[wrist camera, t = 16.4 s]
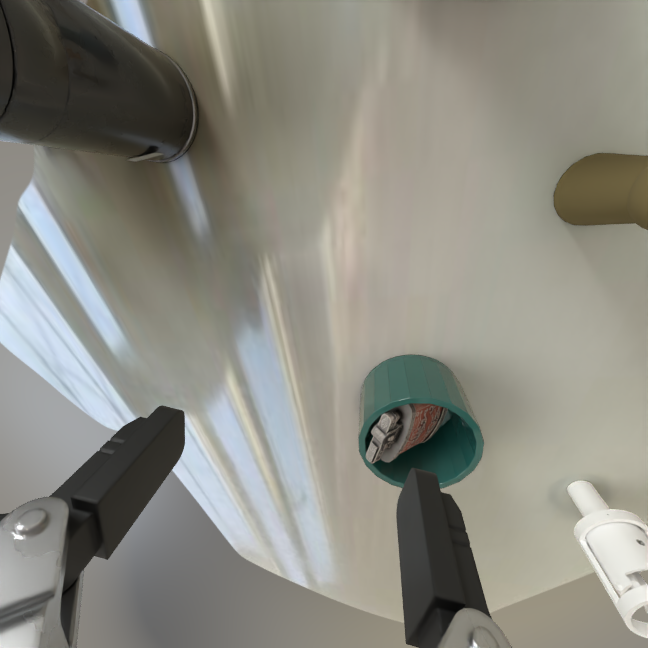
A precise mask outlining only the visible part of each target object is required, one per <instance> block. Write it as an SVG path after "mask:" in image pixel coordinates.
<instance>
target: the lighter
mask: <svg viewBox="0 0 648 648" xmlns="http://www.w3.org/2000/svg"><path fill="white" fill-rule="evenodd" d="M446 412H447V408H444V407H440V406H437V405H433V404H414V403H411V404H407V405H403V406H399V407H394V408H392V409H391V410H389V411H387V412H385V413H384V414H382V416H381V419H380V421H379V422H378V423H377V424H376V425H375V426H374V427H373V429H372V431H371V434H372V435H373V438H372V441H371V443H370V446H369V448H368V450H367V453H366V459H367V460H368V461H369V462H371V463H374V462H376V461H378V460H380V459H381V460H382V461H384V462H391V461H392V460H394V459H396V457H397V456H398V455H399V454H401V453H403V452H404V451H406V450H408V449H410V448H411V447H413V446H415V445H417V444H419V443H424V442H426V441H428V440H429V439H430V438H431V437H432V436H433V435H434V434H435V433H436V432H437V430H438V428H439V427H440V425H441V424H442V422H443V420H444V417H445V415H446Z"/></svg>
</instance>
